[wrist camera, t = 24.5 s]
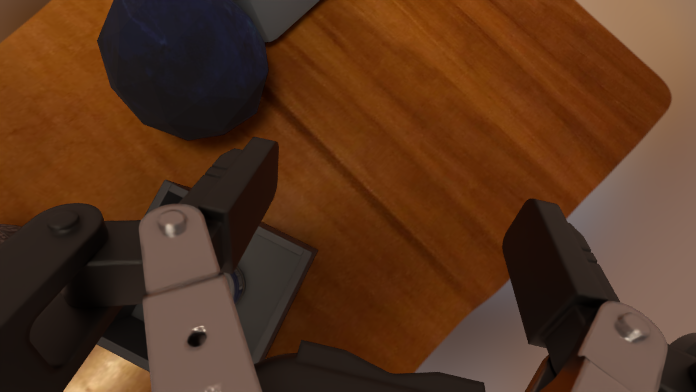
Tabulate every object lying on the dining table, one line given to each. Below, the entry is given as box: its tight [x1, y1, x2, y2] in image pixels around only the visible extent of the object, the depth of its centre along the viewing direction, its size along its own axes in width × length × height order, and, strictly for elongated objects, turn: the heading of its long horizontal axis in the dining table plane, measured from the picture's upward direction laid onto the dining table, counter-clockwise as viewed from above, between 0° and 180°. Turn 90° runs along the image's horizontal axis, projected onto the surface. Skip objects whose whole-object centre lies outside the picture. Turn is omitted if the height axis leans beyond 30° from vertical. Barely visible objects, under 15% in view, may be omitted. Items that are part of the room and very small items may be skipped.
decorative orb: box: [97, 0, 268, 140], centre depth 33 cm, size 14×15×15 cm
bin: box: [97, 180, 318, 372], centre depth 34 cm, size 16×16×7 cm
